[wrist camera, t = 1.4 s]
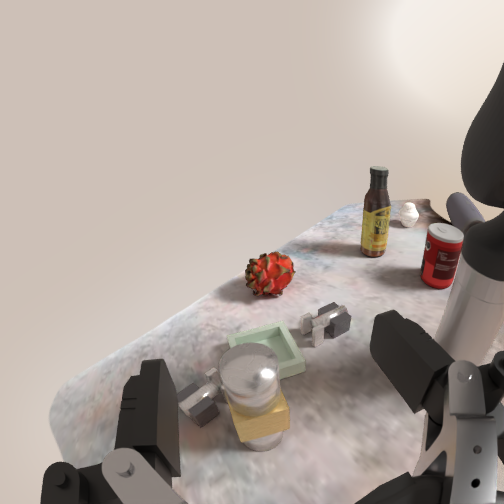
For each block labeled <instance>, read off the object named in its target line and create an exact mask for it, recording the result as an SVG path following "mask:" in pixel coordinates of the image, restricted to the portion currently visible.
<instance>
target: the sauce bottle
mask: <svg viewBox="0 0 504 504" xmlns="http://www.w3.org/2000/svg"><path fill="white" fill-rule="evenodd" d="M370 174H371V183H370V189H369V191H368V192H367V194H366V195H365V199H364V208H363V223H362V235H361V251H362V253H364V254H365V255H367V256H371V257H378V256H382V255H383V254H384V252H385V249H386V245H387V238H388V230H389V220H390V211H391V204H390V200H389V196H388V191H387V176H388V169H387V168H385V167H376V166H373V167H371V168H370Z"/></svg>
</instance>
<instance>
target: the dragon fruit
mask: <svg viewBox="0 0 504 504" xmlns="http://www.w3.org/2000/svg"><path fill="white" fill-rule="evenodd" d="M249 263H250V264H248V265H247V269H246V270H245V274H246V276H245V277H246V280H247V281H248V283H247V284H246V286H247V287H249V288H251V289H256V290H257V292H256V294H255V291H254V290H253V294H254V295H256V296H259V295H261V294H262V295H267V294H268V293H273V294H275V295H277V294H281V295H282V294H283V291H281V289H283V288H285V287H287V285H288V284H289V283H290V282H291V280H292V277H293V275H294V273H295V271H294V269H293V262H292V261H291V259H290V258H289V256H286V255H281V254H280V253H279V252H274V253H273V252H272V253H270V254H269V255H267V254H266V253H265V254H262V255H260V258H259V259H250V260H249ZM279 296H280V295H279Z"/></svg>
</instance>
